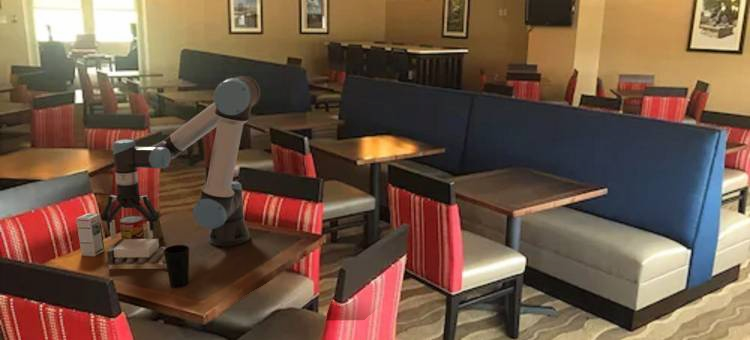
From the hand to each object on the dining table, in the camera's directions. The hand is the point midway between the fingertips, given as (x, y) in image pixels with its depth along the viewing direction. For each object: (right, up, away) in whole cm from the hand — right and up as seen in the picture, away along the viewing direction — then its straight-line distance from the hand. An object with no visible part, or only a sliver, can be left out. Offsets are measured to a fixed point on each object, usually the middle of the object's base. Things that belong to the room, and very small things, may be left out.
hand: (132, 238), depth 226 cm
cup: (+27, -12, -29) cm, 41 cm away
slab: (+6, -3, -11) cm, 14 cm away
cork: (+3, -1, +15) cm, 15 cm away
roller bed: (+10, -7, -11) cm, 16 cm away
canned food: (0, -5, +1) cm, 5 cm away
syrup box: (-14, -5, -2) cm, 15 cm away
